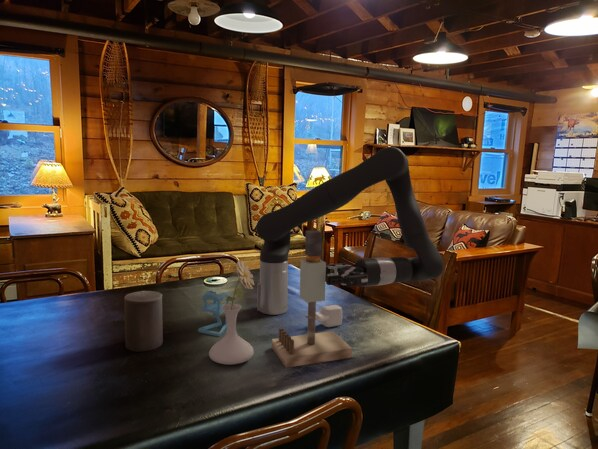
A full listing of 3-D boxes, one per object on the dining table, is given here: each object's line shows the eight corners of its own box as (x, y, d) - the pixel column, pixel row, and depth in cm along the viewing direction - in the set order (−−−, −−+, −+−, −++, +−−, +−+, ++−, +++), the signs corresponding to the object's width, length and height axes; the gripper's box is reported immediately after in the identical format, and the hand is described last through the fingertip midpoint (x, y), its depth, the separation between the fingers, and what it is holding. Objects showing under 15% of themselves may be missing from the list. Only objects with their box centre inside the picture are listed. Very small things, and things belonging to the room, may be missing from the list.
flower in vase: (234, 373, 106) (233, 271, 102) (199, 361, 112) (197, 264, 108) (266, 353, 117) (267, 260, 113) (233, 343, 123) (232, 254, 119)
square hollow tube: (306, 302, 113) (307, 263, 111) (299, 296, 117) (300, 259, 116) (324, 300, 114) (325, 262, 113) (317, 294, 119) (318, 258, 117)
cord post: (286, 367, 109) (287, 237, 104) (271, 347, 121) (272, 229, 116) (351, 357, 116) (356, 234, 111) (332, 339, 127) (335, 226, 122)
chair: (235, 327, 135) (235, 288, 133) (219, 336, 127) (219, 296, 125) (214, 322, 138) (214, 285, 136) (197, 332, 130) (197, 292, 129)
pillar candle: (127, 354, 115) (126, 298, 113) (123, 340, 123) (121, 288, 121) (166, 348, 119) (165, 294, 117) (159, 335, 128) (158, 284, 126)
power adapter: (311, 331, 132) (311, 313, 131) (303, 326, 136) (304, 307, 135) (343, 326, 137) (344, 307, 136) (335, 320, 141) (336, 303, 140)
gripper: (362, 252, 127) (310, 256, 122) (389, 264, 114) (331, 268, 108) (362, 278, 128) (309, 283, 123) (388, 292, 115) (331, 298, 110)
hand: (320, 276), depth 116 cm, fingers open, 8 cm apart
